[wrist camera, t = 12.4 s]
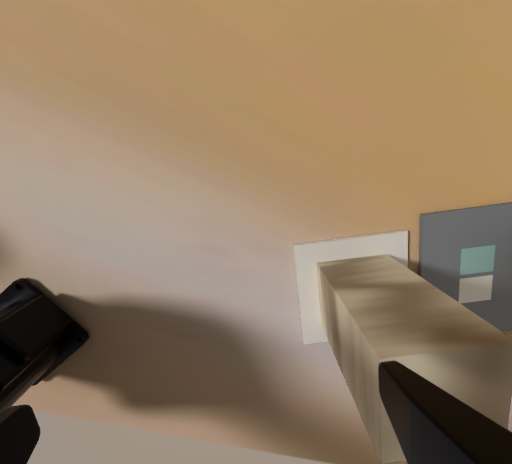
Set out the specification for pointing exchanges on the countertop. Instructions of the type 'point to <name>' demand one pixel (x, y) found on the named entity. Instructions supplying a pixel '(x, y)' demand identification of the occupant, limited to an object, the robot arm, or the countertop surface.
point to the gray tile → (471, 259)
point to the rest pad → (330, 251)
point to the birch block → (409, 341)
